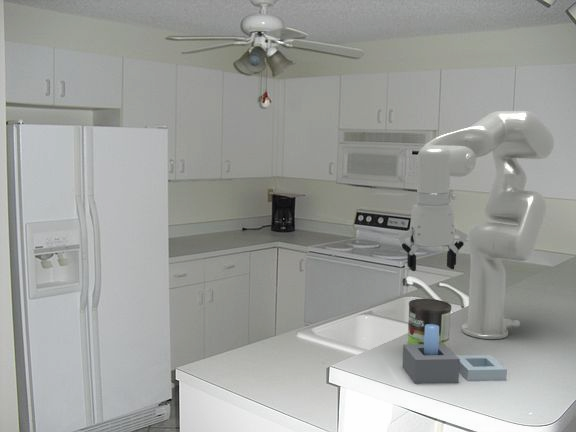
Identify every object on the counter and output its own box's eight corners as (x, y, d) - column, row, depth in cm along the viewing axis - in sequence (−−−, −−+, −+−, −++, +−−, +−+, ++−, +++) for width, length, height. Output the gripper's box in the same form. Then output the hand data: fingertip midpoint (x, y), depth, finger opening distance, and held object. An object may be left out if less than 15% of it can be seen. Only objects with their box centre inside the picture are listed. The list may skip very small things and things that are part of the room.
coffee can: (421, 368, 144) (423, 311, 142) (398, 354, 153) (400, 300, 151) (457, 363, 147) (460, 307, 145) (433, 349, 157) (435, 297, 155)
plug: (434, 373, 140) (436, 323, 139) (439, 379, 137) (441, 328, 136) (421, 374, 140) (423, 324, 139) (425, 379, 137) (427, 328, 136)
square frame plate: (489, 367, 145) (490, 355, 145) (506, 382, 136) (506, 369, 136) (453, 367, 144) (453, 355, 144) (467, 382, 135) (468, 370, 135)
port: (443, 367, 144) (444, 343, 143) (458, 384, 134) (459, 359, 134) (402, 368, 143) (403, 344, 142) (414, 385, 133) (415, 359, 133)
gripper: (461, 196, 149) (459, 263, 152) (393, 198, 147) (392, 266, 150) (474, 200, 142) (471, 271, 144) (402, 202, 140) (401, 274, 142)
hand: (431, 268), depth 147 cm, fingers open, 9 cm apart
